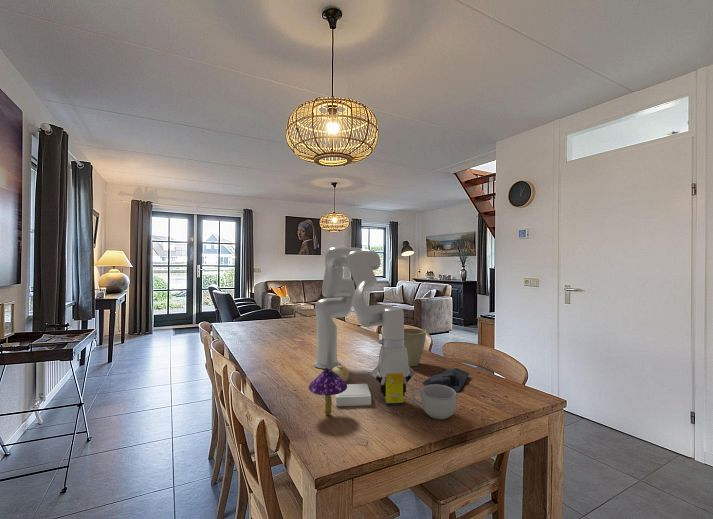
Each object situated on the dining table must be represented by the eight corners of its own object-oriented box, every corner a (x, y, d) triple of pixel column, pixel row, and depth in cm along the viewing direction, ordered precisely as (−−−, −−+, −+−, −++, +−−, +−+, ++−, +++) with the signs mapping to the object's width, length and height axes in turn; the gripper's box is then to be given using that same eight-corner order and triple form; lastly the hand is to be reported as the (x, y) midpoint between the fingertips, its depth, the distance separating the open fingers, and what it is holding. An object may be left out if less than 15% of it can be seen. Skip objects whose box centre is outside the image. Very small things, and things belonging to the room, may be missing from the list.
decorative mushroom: (304, 423, 103) (305, 373, 103) (312, 405, 115) (312, 361, 115) (345, 424, 102) (345, 374, 102) (348, 406, 114) (348, 362, 115)
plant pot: (430, 362, 165) (430, 329, 165) (419, 370, 152) (419, 335, 153) (402, 358, 173) (402, 326, 173) (389, 365, 160) (389, 331, 161)
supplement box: (383, 398, 121) (383, 368, 121) (399, 398, 122) (399, 367, 122) (386, 405, 115) (386, 373, 115) (403, 405, 116) (403, 372, 116)
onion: (325, 383, 137) (325, 365, 137) (336, 377, 144) (336, 360, 144) (343, 386, 133) (343, 368, 133) (352, 380, 140) (352, 363, 141)
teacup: (457, 410, 111) (457, 386, 111) (455, 425, 101) (455, 398, 101) (414, 405, 116) (414, 381, 116) (409, 418, 106) (409, 393, 106)
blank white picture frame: (335, 392, 127) (335, 384, 127) (367, 391, 128) (367, 383, 128) (336, 406, 115) (336, 397, 115) (371, 405, 116) (371, 395, 116)
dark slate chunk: (475, 378, 143) (475, 367, 143) (457, 395, 125) (457, 382, 126) (440, 372, 152) (440, 361, 152) (419, 386, 134) (419, 374, 134)
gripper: (370, 346, 114) (370, 400, 114) (420, 345, 116) (420, 398, 115) (367, 341, 122) (367, 391, 121) (414, 340, 123) (414, 389, 123)
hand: (393, 394), depth 118 cm, fingers closed on supplement box, 6 cm apart
